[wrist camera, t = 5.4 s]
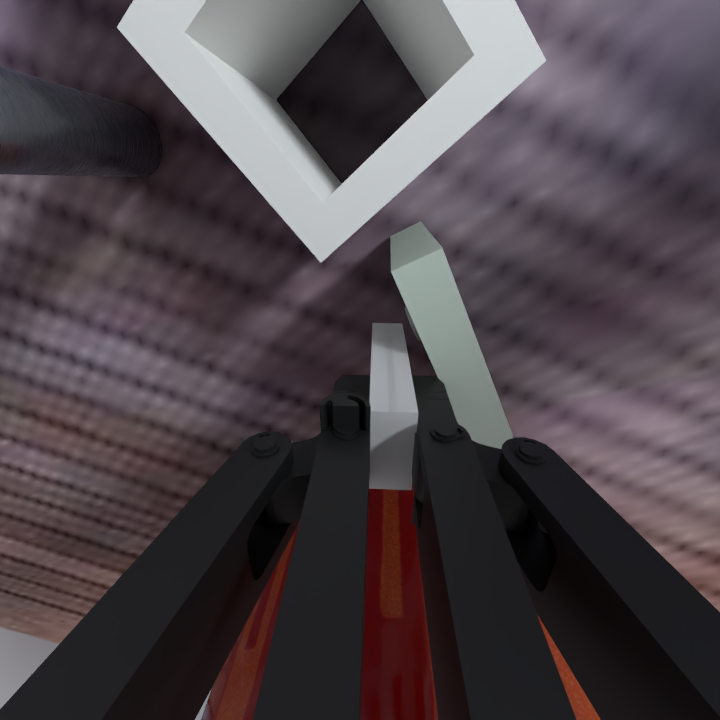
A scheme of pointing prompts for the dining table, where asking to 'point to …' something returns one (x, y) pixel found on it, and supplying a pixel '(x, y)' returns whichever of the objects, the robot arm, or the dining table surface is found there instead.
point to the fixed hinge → (290, 55)
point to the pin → (71, 131)
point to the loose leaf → (447, 333)
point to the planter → (366, 630)
